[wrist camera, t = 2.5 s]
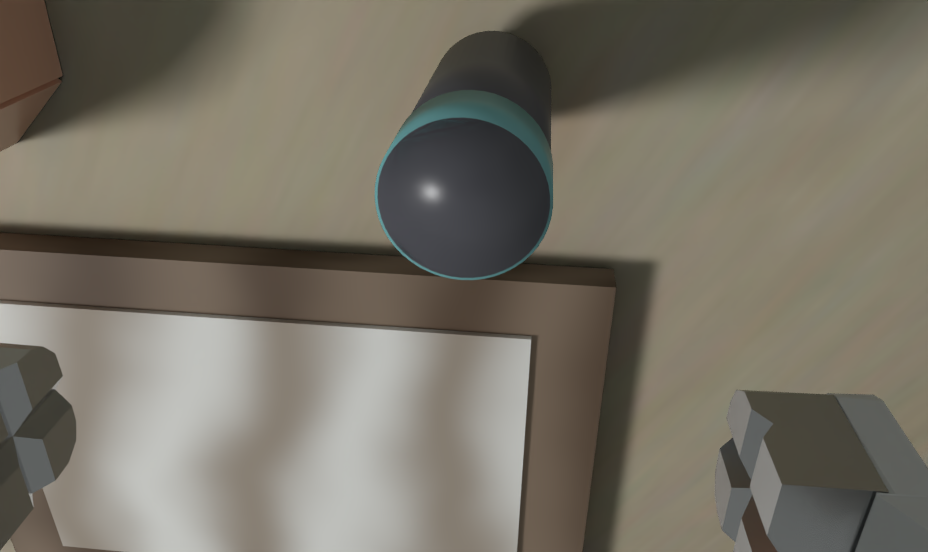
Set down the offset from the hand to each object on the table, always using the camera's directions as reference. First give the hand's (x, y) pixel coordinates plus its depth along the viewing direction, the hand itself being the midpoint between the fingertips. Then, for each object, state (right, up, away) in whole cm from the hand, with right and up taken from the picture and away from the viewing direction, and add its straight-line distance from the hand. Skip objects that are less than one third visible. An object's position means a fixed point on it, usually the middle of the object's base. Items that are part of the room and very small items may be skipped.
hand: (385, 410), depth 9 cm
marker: (+2, +7, +13) cm, 15 cm away
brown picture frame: (-6, -4, +20) cm, 21 cm away
